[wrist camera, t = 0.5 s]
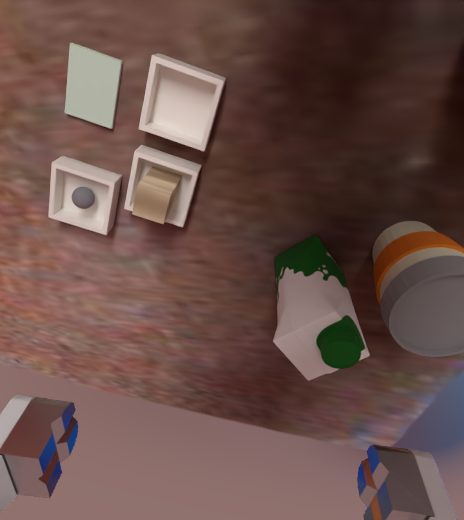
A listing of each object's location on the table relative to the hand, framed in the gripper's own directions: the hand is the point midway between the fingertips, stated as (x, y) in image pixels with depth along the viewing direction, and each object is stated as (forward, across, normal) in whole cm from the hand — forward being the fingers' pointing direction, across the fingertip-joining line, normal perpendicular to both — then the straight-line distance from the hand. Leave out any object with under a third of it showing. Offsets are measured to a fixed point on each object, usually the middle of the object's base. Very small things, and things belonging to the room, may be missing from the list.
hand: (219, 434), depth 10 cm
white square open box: (+42, +22, +13) cm, 50 cm away
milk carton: (+43, -10, +20) cm, 48 cm away
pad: (+42, +20, -1) cm, 47 cm away
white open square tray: (+42, +9, -1) cm, 43 cm away
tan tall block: (+42, +11, +10) cm, 45 cm away
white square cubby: (+42, +11, +10) cm, 45 cm away
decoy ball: (+40, +22, +13) cm, 48 cm away
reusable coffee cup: (+43, -23, +15) cm, 51 cm away
